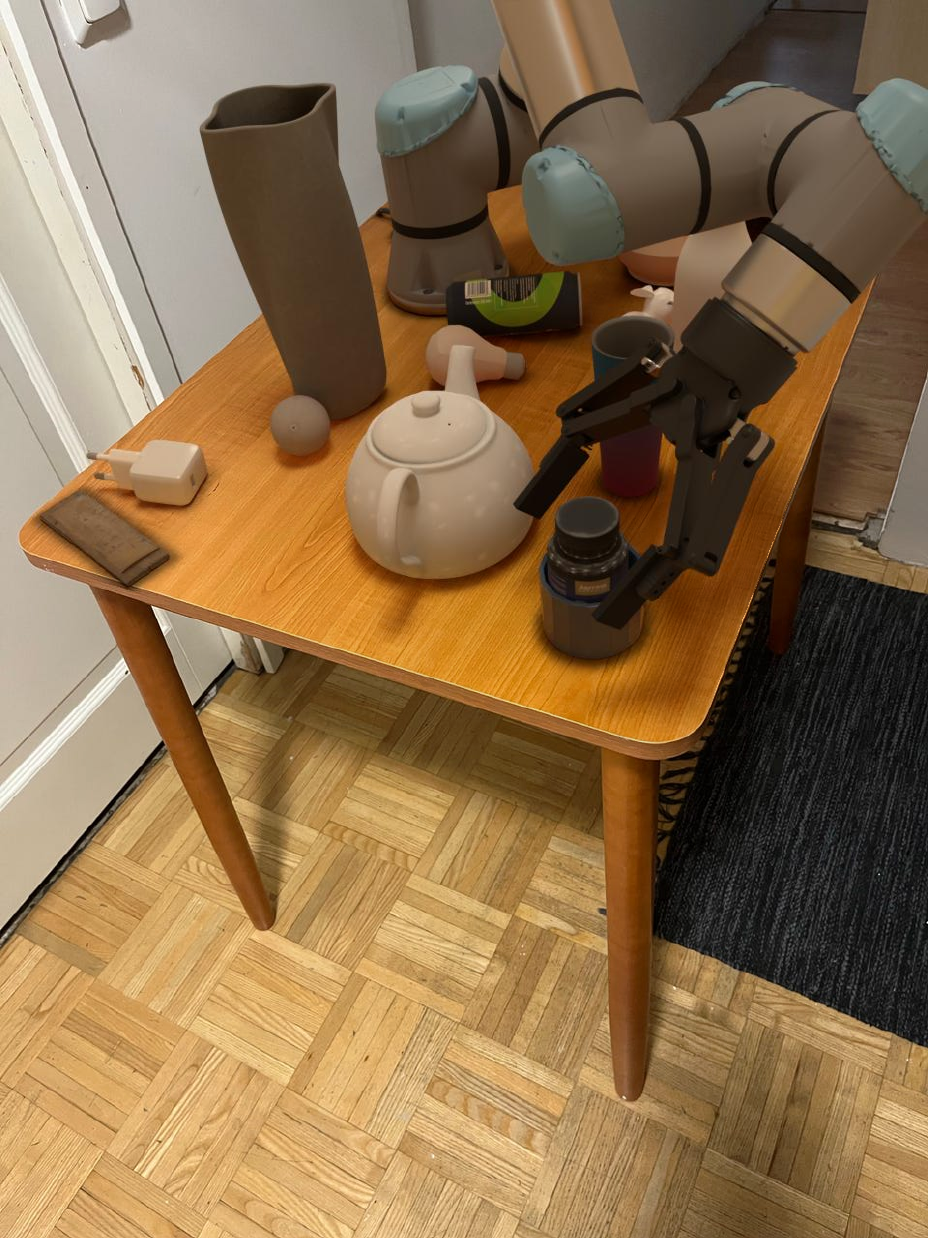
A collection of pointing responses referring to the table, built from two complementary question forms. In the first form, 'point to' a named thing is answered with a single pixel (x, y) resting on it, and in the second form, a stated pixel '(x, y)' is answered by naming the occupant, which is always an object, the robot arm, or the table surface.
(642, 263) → the bowl
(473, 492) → the teapot
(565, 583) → the pill bottle
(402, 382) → the table surface
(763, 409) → the table surface
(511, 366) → the light bulb
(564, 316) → the beverage can
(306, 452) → the ball
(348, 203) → the vase
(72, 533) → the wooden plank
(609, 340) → the cup
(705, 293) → the milk bottle
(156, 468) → the power adapter
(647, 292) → the elephant figurine
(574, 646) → the cylindrical container
